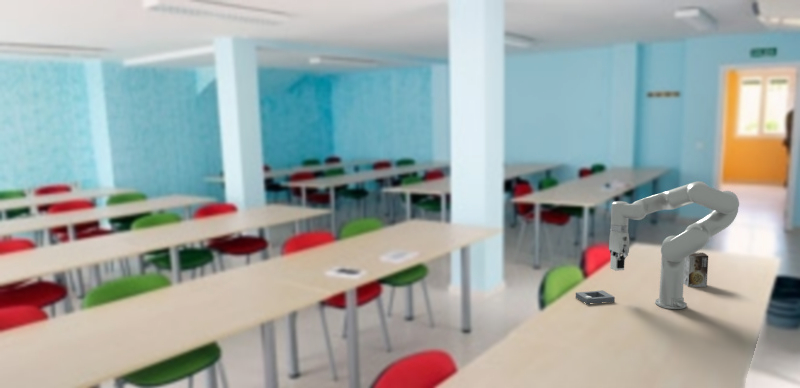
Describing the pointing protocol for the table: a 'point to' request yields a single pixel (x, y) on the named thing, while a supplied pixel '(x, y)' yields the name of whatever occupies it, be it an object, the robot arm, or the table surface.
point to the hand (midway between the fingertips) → (617, 266)
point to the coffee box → (696, 270)
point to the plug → (615, 263)
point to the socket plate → (595, 297)
